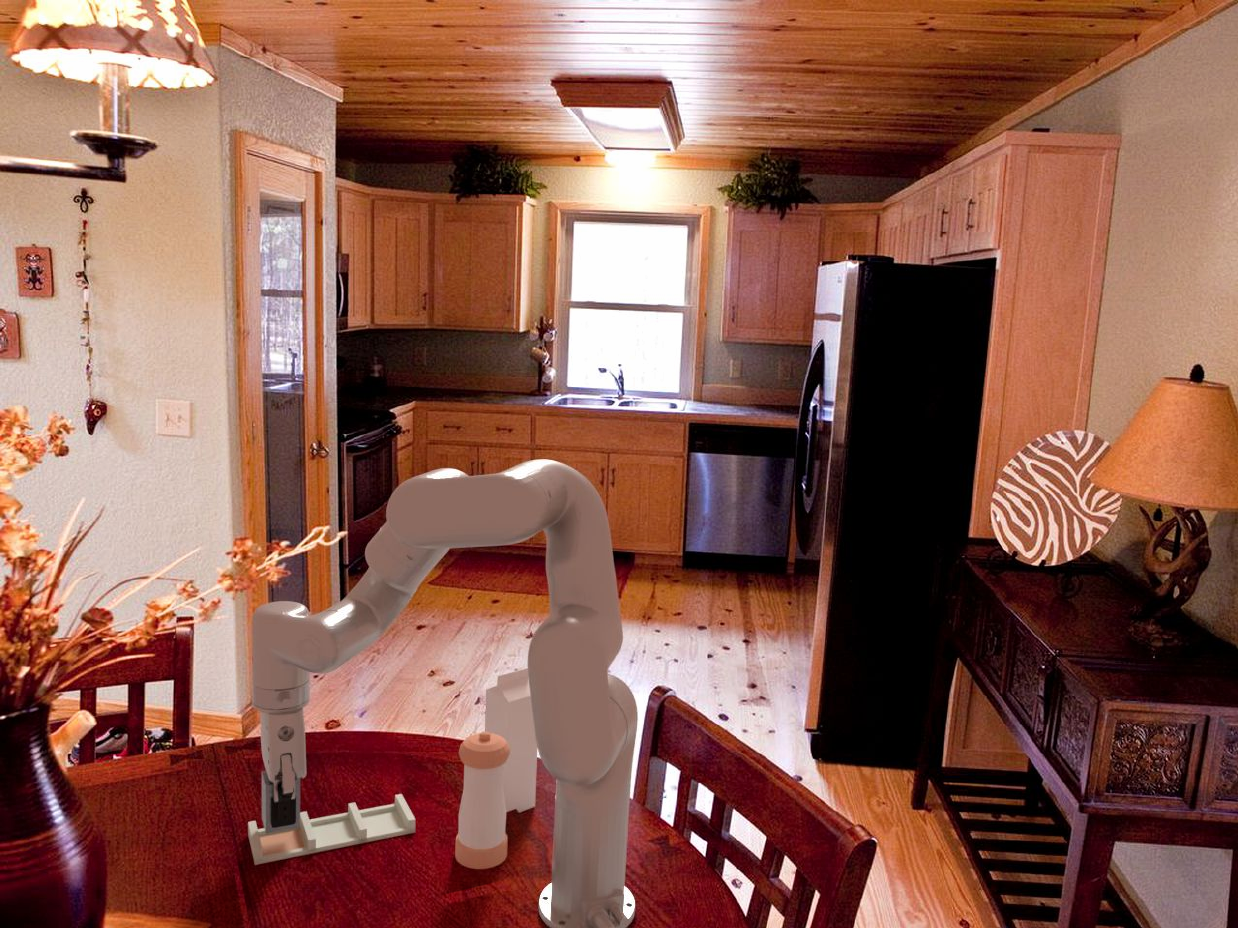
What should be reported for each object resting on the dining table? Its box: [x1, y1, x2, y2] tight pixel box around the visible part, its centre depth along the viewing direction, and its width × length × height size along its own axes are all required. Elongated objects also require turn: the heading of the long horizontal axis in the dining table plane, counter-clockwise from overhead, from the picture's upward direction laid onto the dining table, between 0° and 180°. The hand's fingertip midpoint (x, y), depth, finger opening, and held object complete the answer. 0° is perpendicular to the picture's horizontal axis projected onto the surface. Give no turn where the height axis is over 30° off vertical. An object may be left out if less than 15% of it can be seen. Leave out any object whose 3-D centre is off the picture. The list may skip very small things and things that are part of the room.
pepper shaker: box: [454, 730, 510, 870], centre depth 133 cm, size 7×7×19 cm
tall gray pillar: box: [261, 769, 301, 833], centre depth 133 cm, size 4×4×7 cm
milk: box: [484, 667, 538, 813], centre depth 148 cm, size 6×6×22 cm
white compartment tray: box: [247, 793, 416, 866], centre depth 138 cm, size 8×22×3 cm, turn 117°
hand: (280, 814), depth 134 cm, fingers closed on tall gray pillar, 4 cm apart
